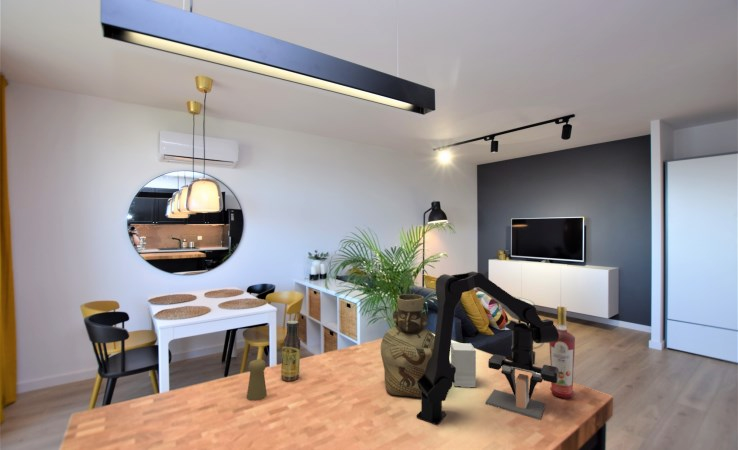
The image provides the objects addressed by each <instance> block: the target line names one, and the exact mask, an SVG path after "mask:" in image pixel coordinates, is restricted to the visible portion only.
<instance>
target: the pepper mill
mask: <svg viewBox="0 0 738 450" xmlns="http://www.w3.org/2000/svg"><path fill="white" fill-rule="evenodd" d="M266 367H267V366H266V361H265V360H264V359H259V358H258V359H254V360H251V361H250V362H249V363H248V372H249V377H248V378H249V379H248V385H247V392H246V399H247V400H248V401H252V402H253V401H259V400H262V399H265V398H266V397H267V395H268V394H267V385H266V377H265V370H266Z"/></svg>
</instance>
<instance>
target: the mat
mask: <svg viewBox="0 0 738 450" xmlns="http://www.w3.org/2000/svg"><path fill="white" fill-rule="evenodd" d="M488 404H489V405H488ZM485 405H488V406H491V405H492V406H491V407H495V408H498V407H499V408H498V409H501V408H502V410H505V409H506V410H505V411H508V410H509V411H508V412H513V413H516V414H519V415H523V416H526V417H528V418H533V419H536V420H542V417H543V416H542V415H543V412H544V410H545V407H546V402H543V401H540V400H535V399H532V398H531V399H529V402H528V404H527V407H526V408H525V409H523V408H519V407H516V395H514V393H510V392H509V393H508V392H505V391H502V390H500V389H499V390H498V389H496V388H495V389H493V391H492V392H491V393H490V395H489V396H488V398H487V399H486V401H485Z"/></svg>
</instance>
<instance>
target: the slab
mask: <svg viewBox="0 0 738 450" xmlns="http://www.w3.org/2000/svg"><path fill="white" fill-rule="evenodd" d="M529 379H530V376H529V375H527V374H523V373H518V375H517V377H515V381H516V407H519V408H523V409H525V408H526V407H527V404H528V402H529V387H530V381H529Z"/></svg>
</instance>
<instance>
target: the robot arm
mask: <svg viewBox="0 0 738 450" xmlns="http://www.w3.org/2000/svg"><path fill="white" fill-rule="evenodd" d="M474 289H477V290H479V291H481V292H482V293H483V294H484V295H486V296H487V297H489V298H490V299H492V300H493V301H495V302H497V304H499V305H500V306H501V307H502V308H503V310H504V311H505V312H506V314H508V315H509V316H510V317H511V318H512V319H515V320H517V321H520V322H516V321H514V320H510V321H509V323H507V324H506V325H505V326H504V327H505V328H506V329H508V330H510V331H511V334H512V335H511V347H510V354H511V360H512V361H511V360H507V358H506V356H505V355H501V354H497V353H496V354H493V355H491V356H490V358H489V359H488V361H487V362H488V365H487V366H488V367H487V368H489V369H493V370H496V371H500V369H501V371H500V374H503V375H504V377H505V378H506V379H507V382H508V383H509V386H510V388H511V390H512V392H513V393H512V394H514V395H516V370H517V371H522V372H525V373H526V372H527V373H531V376H530V377H529V379H530V381H529V399H532V396H533V393H534V391H535V388H536V386H537V384H538V383H542V382H548V383H551V382H552V383H557V381H558V378H559V370H558V368H557V367H554V366H551V365H548V364H543V366H542V367H539V366H534V365H535V364H536V351H534V343H535V344H549V343H553V342H556V341H557V340H558V338H559V333H558V331H557V326H556V325H555V324H554V320H552V319H549V318H547V319H541V317H540V316H539V314H538V312H537V311H538V310H537V307H536V306H535V305H533V304H531V303H528V302H527V301H526V300H525V301H524V300H522V299H519V298H517V297H514V296H513V295H512V294H510V293H509V292H507V291H505V290H504V289H503V288H501V287H500V286H499V285H498V284H496V283H495V282H493V281H492V280H490V279H488V278H487V277H486V276H485V275H484V274H483V273H481V272H478V271H469V272H466V273H465V272H464V273H459V274H458V273H456V274H452V275H450V274H445V273H444V274H441V275H439V276H438V277H437V278H436V280H435V296H436V299H437V304H438V308H437V317H436V325H435V332H434V336H435V340H434V348H433V354H432V356H431V358H430V359H429V361H428V363H427V366H426V370H425V373H424V374H423V375H422V376H421V378H420V379H419V380H418V381H417V384H418V387H419V389H420V390H421V391H422V393H421V402H420V403H421V410H420V411H419V412H418V413H417V414H416V418H417V419H420V420H423V421H426V422H428V423H432V424H434V425H439V424H440V423H441V422H442V421H443V419H444V418H445V417H446V416H447V412H445V411H444V410H443V402H444V401H446V400H447V397H448V393H449V391H450V390H451V389H452V386H453V385H454V384H453V382H454V383H455V380H454V376H455V372H456V367H454V366H453V365H452V364H451V359H450V357H451V343H452V340H453V339H452V338H453V330H454V320H455V313H456V312H455V311H456V308H457V307H458V305H459V303H460V302H461V300H462V297H463V293H467V292H470V291H472V290H474ZM442 410H443V411H442Z"/></svg>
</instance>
